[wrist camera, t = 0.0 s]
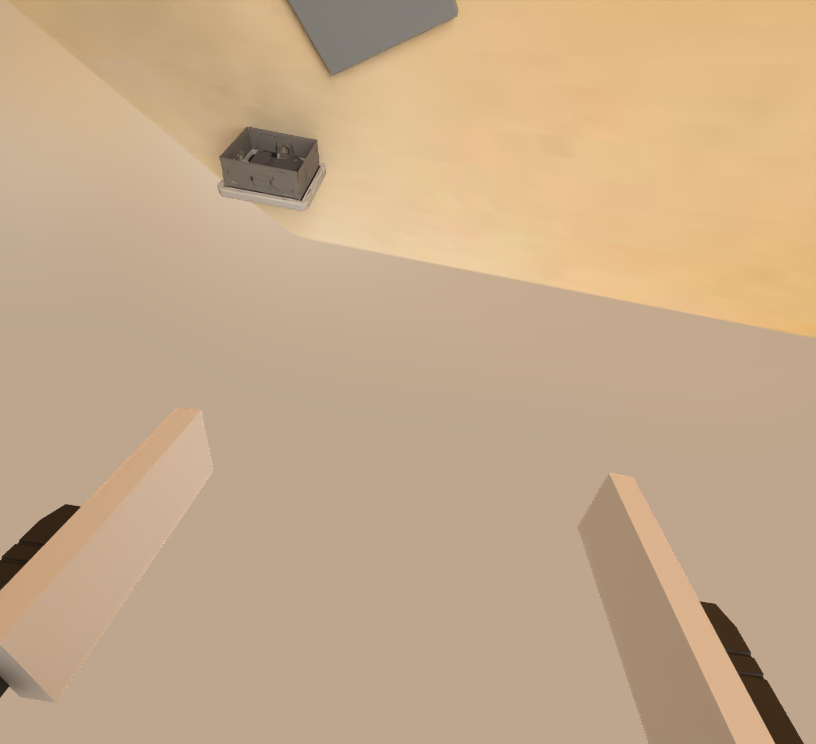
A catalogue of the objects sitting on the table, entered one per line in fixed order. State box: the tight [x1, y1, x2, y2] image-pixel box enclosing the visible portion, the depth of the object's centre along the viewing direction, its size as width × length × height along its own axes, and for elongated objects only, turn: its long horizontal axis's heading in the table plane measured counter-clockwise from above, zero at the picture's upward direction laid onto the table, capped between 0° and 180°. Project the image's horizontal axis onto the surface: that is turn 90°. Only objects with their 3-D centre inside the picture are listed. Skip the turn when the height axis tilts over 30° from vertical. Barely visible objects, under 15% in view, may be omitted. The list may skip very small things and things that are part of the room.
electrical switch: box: [217, 127, 326, 211], centre depth 42 cm, size 9×5×9 cm, turn 84°
